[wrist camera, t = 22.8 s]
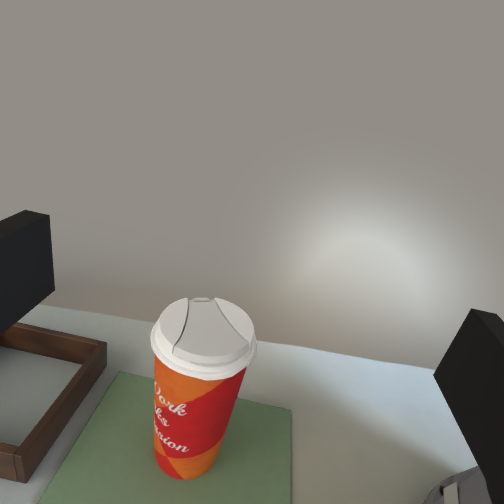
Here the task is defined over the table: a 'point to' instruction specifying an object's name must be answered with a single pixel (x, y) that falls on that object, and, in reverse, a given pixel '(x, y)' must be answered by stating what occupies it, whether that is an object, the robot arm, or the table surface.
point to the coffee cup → (197, 380)
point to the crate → (55, 419)
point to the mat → (147, 469)
